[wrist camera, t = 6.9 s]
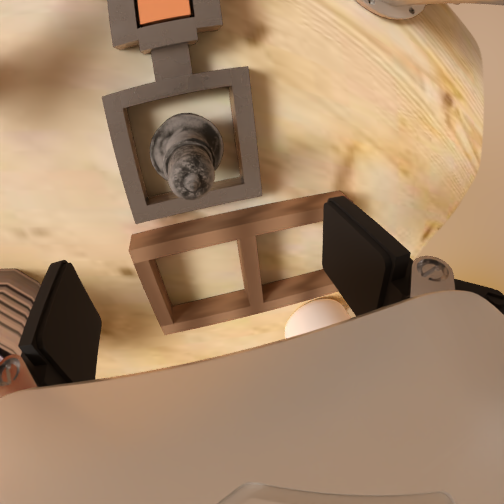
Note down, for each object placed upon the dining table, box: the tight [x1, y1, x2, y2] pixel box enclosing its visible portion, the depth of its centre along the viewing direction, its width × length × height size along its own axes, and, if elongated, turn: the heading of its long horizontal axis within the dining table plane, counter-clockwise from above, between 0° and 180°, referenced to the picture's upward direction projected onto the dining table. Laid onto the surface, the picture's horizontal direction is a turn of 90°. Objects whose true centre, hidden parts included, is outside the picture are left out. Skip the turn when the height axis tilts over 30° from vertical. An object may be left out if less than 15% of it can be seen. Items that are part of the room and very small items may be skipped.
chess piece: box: [150, 113, 223, 200], centre depth 20 cm, size 6×6×12 cm
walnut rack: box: [129, 191, 353, 335], centre depth 33 cm, size 22×12×3 cm, turn 96°
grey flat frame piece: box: [102, 0, 262, 224], centre depth 21 cm, size 12×23×3 cm, turn 6°
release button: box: [138, 0, 190, 27], centre depth 16 cm, size 4×4×3 cm
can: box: [0, 269, 41, 362], centre depth 24 cm, size 11×11×12 cm
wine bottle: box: [285, 299, 351, 338], centre depth 31 cm, size 10×10×30 cm
